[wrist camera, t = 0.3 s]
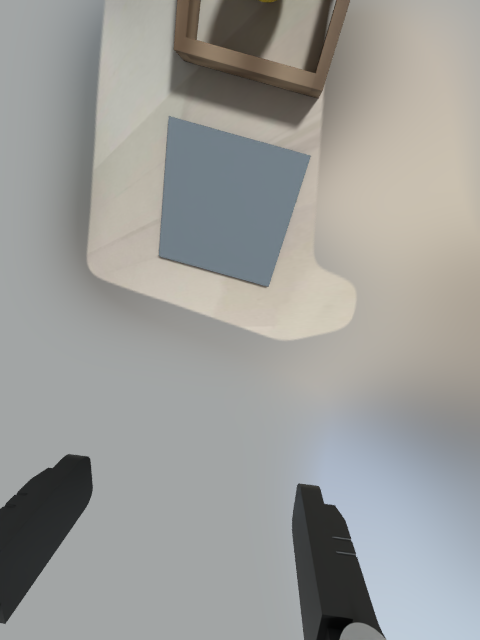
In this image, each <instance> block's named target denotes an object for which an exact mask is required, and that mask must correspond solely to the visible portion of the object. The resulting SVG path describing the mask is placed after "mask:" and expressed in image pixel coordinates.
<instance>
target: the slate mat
mask: <svg viewBox="0 0 480 640" xmlns="http://www.w3.org/2000/svg"><path fill="white" fill-rule="evenodd" d="M309 160H310V155H306V154H303V153H299V152H295V151H292V150H288V149H285V148H281V147H278V146H274V145H270V144H267V143H263V142H260V141H256V140H253V139H249V138H245V137H242V136H238V135H235V134H231V133H227V132H224V131H220V130H217V129H213V128H210V127H206V126H202V125H199V124H195V123H192V122H188V121H185V120H181V119H177V118H174V117H170V116H169V121H168V135H167V149H166V163H165V177H164V191H163V205H162V219H161V233H160V247H159V256H160V257H164V258H167V259H171V260H174V261H178V262H182V263H185V264H189V265H192V266H196V267H200V268H203V269H207V270H210V271H214V272H217V273H221V274H225V275H228V276H232V277H235V278H239V279H242V280H246V281H250V282H253V283H257V284H260V285H264V286H268V287H269V284H270V281H271V277H272V274H273V271H274V268H275V265H276V262H277V259H278V256H279V253H280V249H281V246H282V243H283V240H284V237H285V234H286V231H287V228H288V225H289V222H290V218H291V215H292V212H293V209H294V206H295V203H296V200H297V197H298V194H299V191H300V187H301V184H302V181H303V178H304V175H305V172H306V169H307V166H308V163H309Z"/></svg>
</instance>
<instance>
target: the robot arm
mask: <svg viewBox="0 0 480 640" xmlns="http://www.w3.org/2000/svg"><path fill="white" fill-rule="evenodd" d="M92 489H93V485H92V474H91V462H90V458H89V457H87V456H79V455H71V454H68V455H66V456H65V457H63V458H62V459H61V460H60V461H59V462H58V463H57V464H56V465H55V467H53V468H47V469H46V470H44V471H43V472H41V473H40V474H38V475H36V476H35V477H33V478H32V479H31V480H30V481H28V483H26V484H25V485H24V486H23V487H22V488H21V489H20V490H19V491H18V493H17V495H14V496H13V497H12V498H11V499H10V500H9V501H8V502H7V503H6V505H5V506H4V507H2V508H1V509H0V623H4V624H5V623H6V622H7V621H8V619H9V618H10V616H11V615H12V613H13V612H14V611H15V609H16V608H17V606H18V605H19V603H20V602H21V600H22V599H23V598H24V596H25V595H26V593H27V592H28V590H29V589H30V588H31V586H32V585H33V583H34V582H35V580H36V579H37V577H38V576H39V574H40V573H41V572H42V570H43V569H44V567H45V566H46V564H47V563H48V562H49V560H50V559H51V557H52V556H53V554H54V553H55V551H56V550H57V549H58V547H59V546H60V544H61V543H62V541H63V540H64V538H65V537H66V536H67V534H68V533H69V531H70V530H71V528H72V527H73V525H74V524H75V523H76V521H77V520H78V518H79V517H80V515H81V514H82V513H83V511H84V510H85V508H86V507H87V505H88V503H89V500H90V498H91V495H92ZM292 533H293V544H294V553H295V562H296V570H297V579H298V587H299V597H300V606H301V615H302V623H303V632H304V640H386V638H385V637H384V635H383V633H382V631H381V629H380V627H379V624H378V621H377V619H376V615H375V612H374V609H373V606H372V603H371V600H370V597H369V593H368V590H367V587H366V584H365V581H364V578H363V574H362V571H361V568H360V565H359V562H358V559H357V557H356V552H355V550H354V547H353V543H352V542H351V537H350V534H349V531H348V527H347V524H346V521H345V520H344V518H343V517H342V515H341V514H340V512H339V511H338V509H337V508H336V507H335V506H334V505H328V504H324V502H323V498H322V494H321V490H320V487H319V486H314V485H306V484H298V485H297V491H296V497H295V503H294V510H293V518H292Z"/></svg>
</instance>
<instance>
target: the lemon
mask: <svg viewBox="0 0 480 640" xmlns="http://www.w3.org/2000/svg"><path fill="white" fill-rule="evenodd" d="M259 1H261V2H270V3H271V2H274V1H276V0H259Z"/></svg>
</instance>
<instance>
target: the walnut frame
mask: <svg viewBox="0 0 480 640" xmlns="http://www.w3.org/2000/svg"><path fill="white" fill-rule="evenodd" d="M200 1H201V0H177V13H176V27H175V41H174V50H175V51H176V52H177V53H178V54H179V56H180V57H181V58H182V59H183V60H184V61H186V62H190V63H193V64H197V65H201V66H204V67H208V68H211V69H215V70H218V71H222V72H226V73H229V74H233V75H236V76H240V77H243V78H247V79H251V80H254V81H258V82H261V83H265V84H268V85H272V86H276V87H279V88H283V89H286V90H290V91H294V92H297V93H301V94H304V95H308V96H311V97H315V98H319V96H320V94H321V92H322V90H323V87H324V84H325V81H326V77H327V74H328V71H329V67H330V64H331V61H332V57H333V55H334V51H335V48H336V45H337V41H338V38H339V35H340V32H341V28H342V25H343V22H344V19H345V16H346V12H347V9H348V6H349V2H350V0H336V3H335V7H334V10H333V14H332V17H331V21H330V24H329V28H328V31H327V35H326V38H325V42H324V45H323V48H322V52H321V55H320V59H319V62H318V66H317V69H316V73H312V72H309V71H305V70H302V69H298V68H295V67H291V66H287V65H284V64H280V63H277V62H273V61H269V60H266V59H262V58H259V57H255V56H252V55H248V54H244V53H241V52H237V51H234V50H230V49H227V48H223V47H219V46H216V45H212V44H209V43H205V42H202V41H198V40H197V30H198V21H199V11H200Z"/></svg>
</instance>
